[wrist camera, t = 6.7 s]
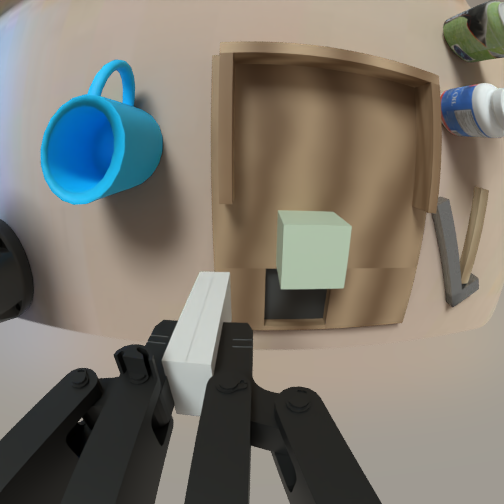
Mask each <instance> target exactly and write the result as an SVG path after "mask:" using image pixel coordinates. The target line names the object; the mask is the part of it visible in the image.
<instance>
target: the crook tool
mask: <svg viewBox="0 0 504 504" xmlns="http://www.w3.org/2000/svg"><path fill="white" fill-rule="evenodd" d="M432 217H433V221H434V225H435V230H436V235H437V240H438V245H439V250H440V256H441V263H442V269H443V276H444V285H445V294H446V302H447V303H448V304H450V305H451V306H452V307H454V306H456V305H457V304H459V303H460V302H461V301H463V300H464V299H466V298H467V297H468V296H470V295H471V294H473V293H474V292H475V291H477V290H478V289H479V281H478V278H477V277H476V276H475V275H473V274H472V273H471V274H470V278H469V281H468V283H466V284H462V282H461V271H460V261H459V253H458V245H457V239H456V232H455V227H454V221H453V216H452V211H451V206H450V202H449V199H446V198H443V197H438V203H437V211H436V213H432Z"/></svg>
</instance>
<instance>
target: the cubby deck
mask: <svg viewBox="0 0 504 504" xmlns="http://www.w3.org/2000/svg"><path fill="white" fill-rule="evenodd" d="M441 146H442V122H441V99H440V86H439V76H438V75H435V74H433V73H430V72H427V71H424V70H421V69H418V68H415V67H412V66H409V65H406V64H403V63H399V62H396V61H392V60H389V59H385V58H381V57H377V56H373V55H368V54H364V53H359V52H354V51H349V50H343V49H337V48H331V47H324V46H316V45H307V44H297V43H283V42H220V55H214V56H212V88H211V188H212V225H213V251H214V272H230V287H231V315H232V320H231V322H237V323H248V324H249V325H250V327H251V328H252V330H307V329H331V328H348V327H362V326H374V325H385V324H395V323H402V322H403V318H404V315H405V312H406V308H407V305H408V301H409V297H410V294H411V290H412V286H413V282H414V277H415V273H416V269H417V264H418V259H419V254H420V249H421V244H422V238H423V232H424V226H425V219H426V212H428V213H436V211H437V203H438V194H439V183H440V170H441ZM278 210H288V211H325V212H334V213H336V214H337V215H338V216H339V217H341V218H342V219H343V220H345V221H346V222H347V223H348V224H350V225H351V226H352V229H351V238H350V247H349V255H348V263H347V270H346V277H345V284H344V288H339V289H281V288H280V282H279V277H278V272H277V267H276V251H277V219H278Z"/></svg>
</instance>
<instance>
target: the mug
mask: <svg viewBox="0 0 504 504" xmlns="http://www.w3.org/2000/svg"><path fill="white" fill-rule="evenodd" d="M115 70H117V71H118V72H119V73H120V76H121V78H122V84H123V103H121V102H118V101H114V100H111V99H108V98H105V97H101V93H102V90H103V87H104V85H105V83H106V81H107V79H108V78H109V76H110V75H111V74H112V73H113V72H114V71H115ZM134 101H135V82H134V75H133V72H132V69H131V67H130V66H129V65H128V63H127V62H126V61H122V60H113V61H111V62H109V63H108V64H106V65H104V66H103V67H102V69H101V70H100V71H99V72H98V73H97V74H96V76H95V78H94V80H93V82H92V84H91V86H90V88H89V91H88V94H86V95H82V96H78V97H75V98H72V99H71V100H69V101H68V102H67V103H65V104H64V105H62V106H61V107H60V108H59V109H58V111H57V112H56V113H55V114H54V115H53V117H52V118H51V120H50V122H49V124H48V126H47V128H46V130H45V132H44V136H43V141H42V145H41V167H42V171H43V174H44V178H45V180H46V182H47V184H48V186H49V187H50V189H51V191H52V192H53V193H54V194H55V195H56V196H58V197H59V198H60V199H61V200H63V201H65V202H68V203H71V204H74V205H75V204H87V203H90V202H93V201H95V200H98V199H101V198H104V197H106V196H109V195H112V194H115V193H118V192H121V191H124V190H127V189H130V188H132V187H135V186H137V185H140V184H142V183H143V182H144V181H145V180H147V179H148V178H149V177H150V176H151V175H152V174H153V172H154V171H155V169H156V168H157V166H158V164H159V161H160V158H161V155H162V151H163V137H162V134H161V130H160V127H159V125H158V124H157V122H156V121H155V119H154V118H153V117H152V116H151V115H150V114H148V113H147V112H145V111H144V110H142V109H139V108H136V107H134Z"/></svg>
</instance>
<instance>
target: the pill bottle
mask: <svg viewBox="0 0 504 504" xmlns="http://www.w3.org/2000/svg"><path fill="white" fill-rule="evenodd" d="M440 99H441V122H442V123H443V125H444V127H445V128H446V129H447V130H448V131H449V132H450V133H452V134H454V135H457V136H470V137H488V138H501V137H503V136H504V88H498V89H497V88H496V87H495V86H493V85H491V84H488V83H481V84H475V85H470V86H464V87H459V88H454V89H449V90H446V91H444V92H443V93H441V95H440Z"/></svg>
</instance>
